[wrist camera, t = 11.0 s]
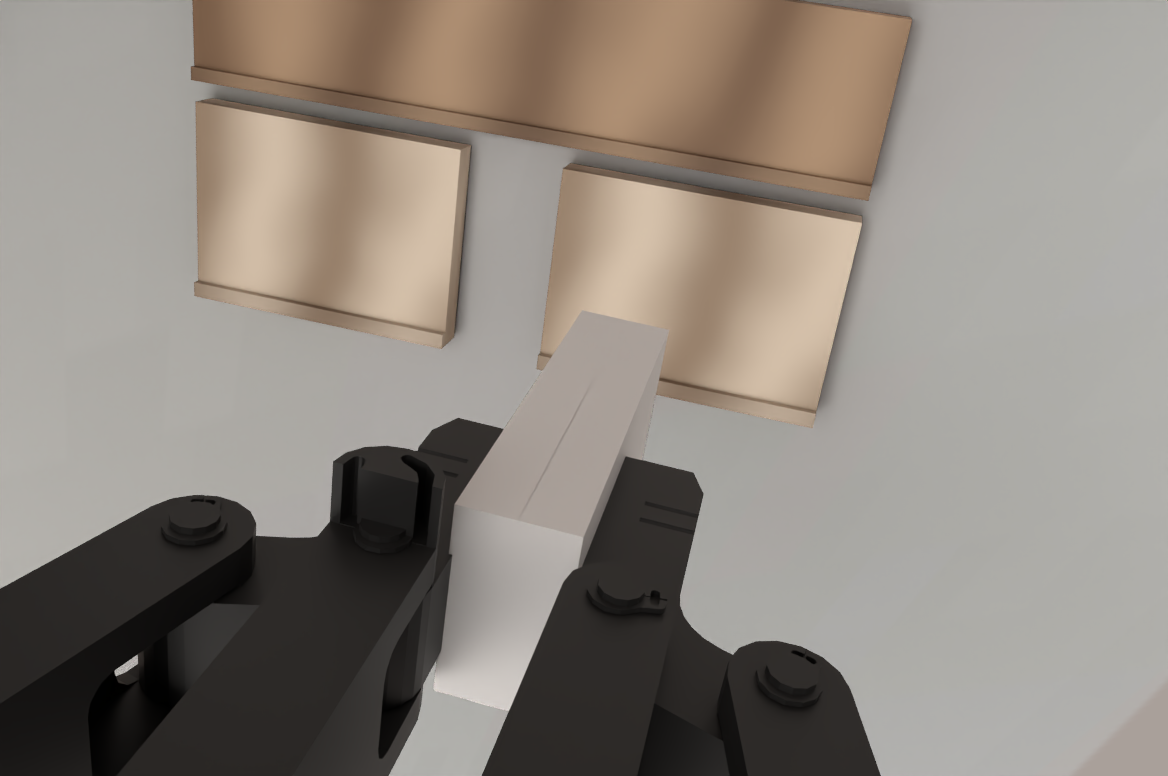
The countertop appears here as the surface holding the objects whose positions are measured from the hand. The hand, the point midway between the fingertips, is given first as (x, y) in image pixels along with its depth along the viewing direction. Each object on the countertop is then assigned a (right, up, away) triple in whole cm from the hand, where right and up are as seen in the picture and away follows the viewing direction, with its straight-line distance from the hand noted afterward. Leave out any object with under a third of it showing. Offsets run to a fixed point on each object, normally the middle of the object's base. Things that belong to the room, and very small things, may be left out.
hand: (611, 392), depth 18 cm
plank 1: (-11, +7, +25) cm, 28 cm away
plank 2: (+4, +4, +23) cm, 23 cm away
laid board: (-2, +13, +21) cm, 24 cm away
